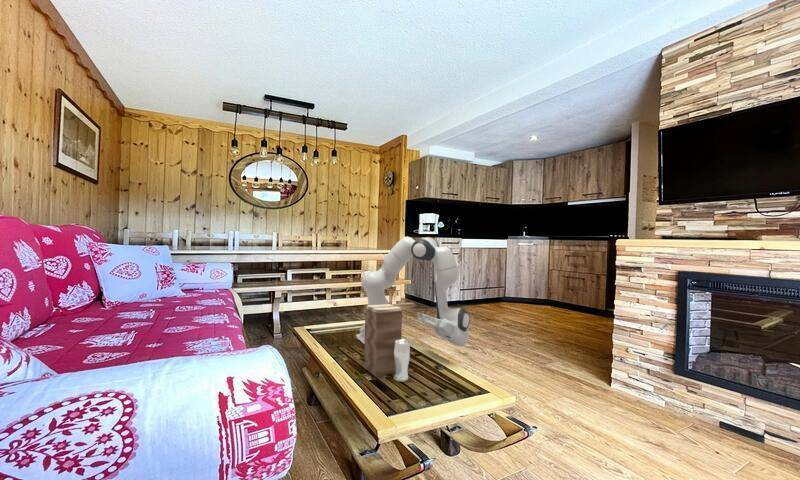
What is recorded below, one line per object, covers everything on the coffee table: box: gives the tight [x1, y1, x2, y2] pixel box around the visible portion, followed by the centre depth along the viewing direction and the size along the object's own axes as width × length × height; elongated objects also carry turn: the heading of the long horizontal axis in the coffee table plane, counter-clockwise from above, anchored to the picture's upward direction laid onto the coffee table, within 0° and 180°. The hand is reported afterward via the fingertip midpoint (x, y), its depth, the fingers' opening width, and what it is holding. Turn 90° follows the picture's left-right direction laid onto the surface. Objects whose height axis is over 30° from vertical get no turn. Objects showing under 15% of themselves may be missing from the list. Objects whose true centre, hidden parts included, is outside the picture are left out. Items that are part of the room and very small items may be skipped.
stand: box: [363, 308, 403, 378], centre depth 147 cm, size 11×12×26 cm
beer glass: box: [393, 338, 411, 383], centre depth 138 cm, size 7×7×15 cm
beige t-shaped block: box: [366, 302, 416, 313], centre depth 150 cm, size 11×21×2 cm, turn 122°
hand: (424, 315), depth 159 cm, fingers open, 8 cm apart
